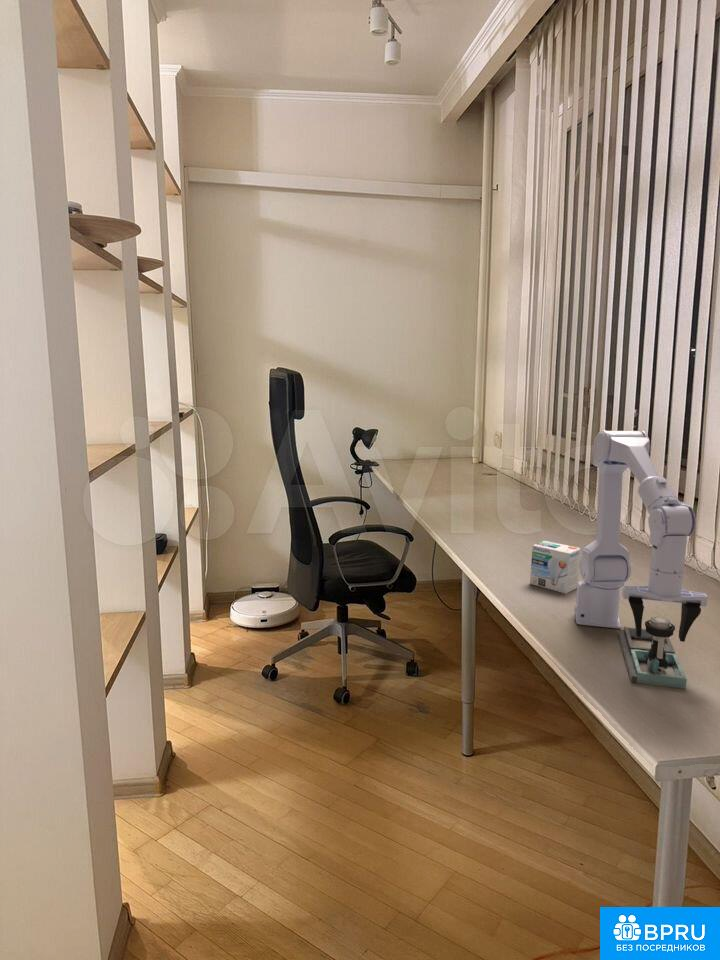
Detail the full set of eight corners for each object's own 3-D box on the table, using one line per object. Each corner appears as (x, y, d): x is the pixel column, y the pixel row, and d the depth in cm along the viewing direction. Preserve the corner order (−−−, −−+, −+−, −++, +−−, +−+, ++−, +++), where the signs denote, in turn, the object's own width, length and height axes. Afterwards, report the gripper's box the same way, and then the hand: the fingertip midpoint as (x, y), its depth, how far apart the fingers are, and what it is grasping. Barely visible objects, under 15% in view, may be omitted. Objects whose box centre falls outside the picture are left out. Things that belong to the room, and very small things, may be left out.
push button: (677, 679, 131) (682, 629, 130) (648, 677, 132) (653, 627, 130) (664, 663, 138) (669, 615, 136) (637, 662, 138) (641, 614, 136)
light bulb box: (528, 584, 183) (531, 544, 181) (541, 578, 188) (544, 539, 186) (566, 594, 176) (569, 553, 174) (578, 587, 181) (581, 547, 179)
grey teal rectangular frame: (631, 682, 130) (631, 672, 129) (618, 635, 151) (619, 626, 151) (685, 688, 128) (686, 678, 127) (665, 640, 149) (666, 631, 149)
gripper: (627, 571, 128) (621, 641, 130) (714, 579, 124) (706, 650, 127) (623, 560, 135) (617, 626, 137) (705, 567, 131) (697, 635, 134)
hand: (659, 637), depth 133 cm, fingers open, 7 cm apart
